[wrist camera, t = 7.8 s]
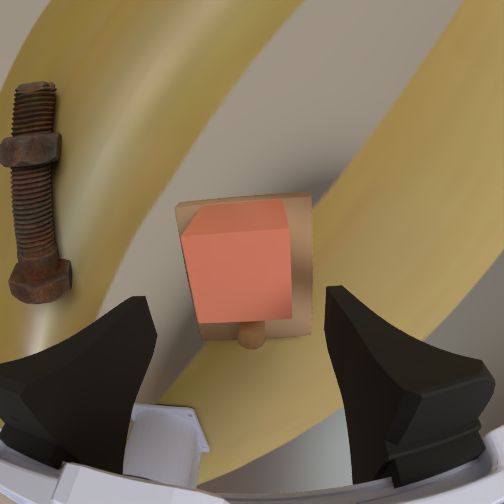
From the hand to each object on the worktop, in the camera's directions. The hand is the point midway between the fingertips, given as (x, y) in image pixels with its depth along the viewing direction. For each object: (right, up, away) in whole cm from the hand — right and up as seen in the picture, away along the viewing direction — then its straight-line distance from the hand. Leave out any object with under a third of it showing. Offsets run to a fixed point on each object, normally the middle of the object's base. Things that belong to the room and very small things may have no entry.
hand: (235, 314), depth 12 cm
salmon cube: (0, +3, +6) cm, 7 cm away
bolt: (-14, +8, +7) cm, 18 cm away
